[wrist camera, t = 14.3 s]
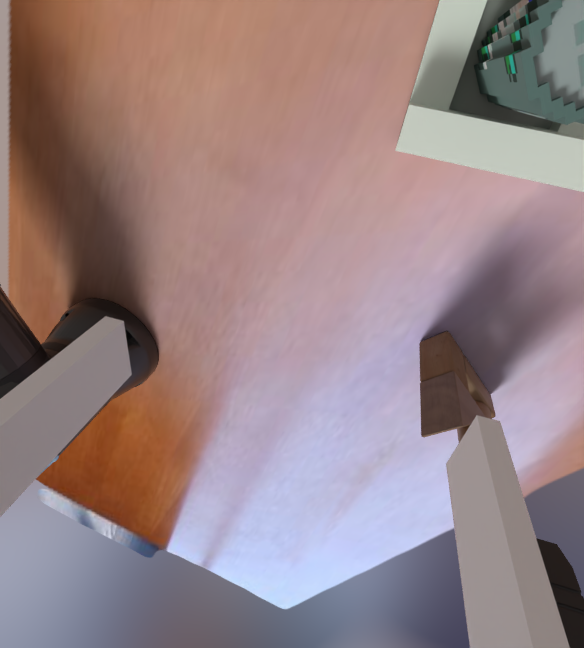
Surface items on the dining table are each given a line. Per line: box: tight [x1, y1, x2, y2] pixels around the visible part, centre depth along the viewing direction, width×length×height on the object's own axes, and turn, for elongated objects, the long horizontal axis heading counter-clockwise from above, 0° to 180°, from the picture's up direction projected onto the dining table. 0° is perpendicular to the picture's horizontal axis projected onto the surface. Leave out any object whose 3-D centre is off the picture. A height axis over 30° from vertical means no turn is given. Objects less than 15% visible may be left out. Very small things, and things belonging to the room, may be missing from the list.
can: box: [474, 0, 584, 125], centre depth 21 cm, size 6×6×15 cm
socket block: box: [396, 0, 584, 192], centre depth 25 cm, size 14×14×6 cm
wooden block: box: [420, 331, 495, 443], centre depth 36 cm, size 4×11×18 cm, turn 39°
